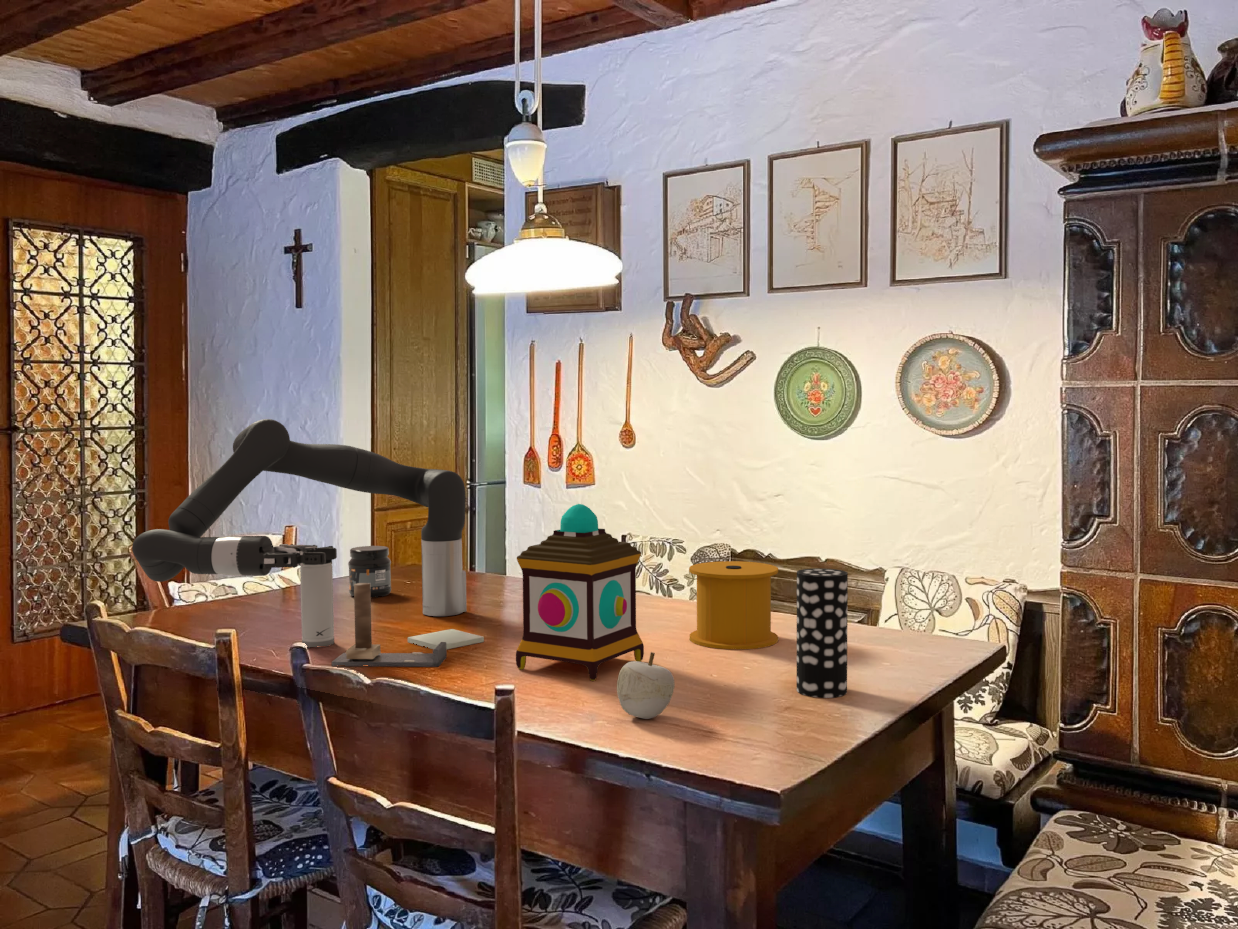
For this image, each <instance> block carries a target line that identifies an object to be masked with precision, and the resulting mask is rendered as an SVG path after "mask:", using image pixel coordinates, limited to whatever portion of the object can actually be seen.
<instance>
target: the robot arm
mask: <svg viewBox="0 0 1238 929" xmlns="http://www.w3.org/2000/svg"><path fill="white" fill-rule="evenodd" d="M290 438H291V437H290V433H289V431H288V430H287V428H286V426H285V425H283V424H282V423H281V422H280V421H278V420H275V419H271V418H265V419H263V418H262V419H260V420H256V421H255V422H253V423H250V424H249V425H248V426H247V427H246V428H244V429H243V430H242V431H241V432H239V433H238V434H237V436H236V437H235V438H234V440H233V443H232V451H233V453H232V455H231V456H230V457H229V458H228V459H227V460H226V461H225V462H224V463H223V464H222V465H221V466H220V467H219V468H218V469H217V470H216V471H215V472H214V473H213V474H211V475H210V476H209V477H208V478H207V479H206V480H204V481H203V482H202V483H201V484H199V485H198V487H196V488H195V489H194V490H193V491H192V492H191V493H190V494H189V495H188V496H187V497H186V498H185V499H184V500H183V502H182V503H180V505H179V506H178V507H177V508H176V509H175V510H173V512H172V513H171V514H170V515H169V518H168V520H167V522H168V529H163V528H159V529H158V528H156V529H155V528H154V529H151V530H147V531H145V532H142V533H140V534H139V535H138V536H137V537H136V538H134V540H133V542H132V545H131V546H132V547H131V550H132V553H133V556H134V558H135V560H136V561H137V563H138V564H139V565H140V567H141V569H142V570H143V572H144V573H145V575H146V577H147V578H149V579H150V580H151V581H154V582H156V583H157V582H158V583H159V582H160V583H161V582H166V581H169V580H171V579H174V578H175V577H176V576H177V575H179V573H181V572H182V570H183V569H184V568H185V569H186V570H187V571H188V572H190V573H192V574H195V575H196V574H197V575H222V576H230V577H233V576H234V577H239V576H240V577H241V576H242V577H246V576H247V577H249V576H251V577H253V576H254V577H255V576H256V577H265V576H267V575H268V574H269V573H270V572H271V571H272V568H276V569H277V568H278V569H281V568H297V567H301V566H303V565H323V564H325V563H326V560H332V561H333V560H336V559H337V557H338V553H337V548H336V547H333V548H320V547H318V545H316V544H293V543H291V544H288V543H284V544H282V543H281V544H279V545H275V546H274V545H273V542H272V539H271V538H270V537H269V536H267V535H229V536H228V535H227V536H221V537H220V536H218V537H217V536H203V535H204V534H205V533H206V532H208V530H209V529H210V528H211V527H212V526H213V525H214V523H215V522H216V521H218V519H219V518H220V517H221V515H222V514H224V512H225V511H226V510H227V509H228V508H229V506H231V504H232V503H233V502H234V500H235V499H236V498H237V497H238V496H239V495H240V494H241V493H242V492H243V491H244V490H245V488H247V486H248V485H249V484H250V483H251V482H252V481H253V480H254V479H255V478H256V477H257V476H259V475H260V474H261V473H262V472H263V471H264V472H270V473H271V472H272V473H276V474H277V473H279V474H287V475H292V476H296V477H301V478H305V479H308V480H313V481H315V482H320V483H325V484H328V485H332V486H336V487H339V488H344V489H348V490H350V491H351V490H352V491H354V492H355V491H356V492H360V493H361V492H362V493H368V494H373V495H374V494H375V495H376V494H377V495H390V496H394V497H399V498H401V499H404V500H407V501H410V502H414V503H416V504H418V505H421V506H423V507H426V508H427V509H428V512H427V522H426V523H425V525H423V527H422V528H421V533H420V534H421V535H420V536H421V538H420V539H421V583H422V584H421V585H422V587H421V589H422V593H421V594H422V597H421V598H422V614H423V615H425V616H429V617H430V616H433V617H448V616H455V615H460V614H463V612H467V572H466V570H465V569H464V570H463V545H462V544H463V542H462V541H463V540H462V539H463V537H462V536H463V530H464V527H465V523H466V487H465V483H464V480H463V479H462V477H461V476H460V475H459V474H458V473H456V472H455V471H453V470H446V469H437V468H436V469H435V468H422V467H417V466H409V465H404V464H400V463H398V462H396V461H394V460H392V459H390V458H388V457H385V456H383V455H381V454H379V453H376V452H373V451H371V450H366V449H363V448H359V447H355V446H351V445H344V444H337V443H336V444H335V443H334V444H333V443H331V444H330V443H303V442H298V441H293V440H291V439H290ZM307 550H311V552H307Z"/></svg>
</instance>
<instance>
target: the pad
mask: <svg viewBox="0 0 1238 929" xmlns="http://www.w3.org/2000/svg"><path fill="white" fill-rule="evenodd" d="M441 642H446V649H447V650H450V649H456V648H460V647H465V646H469V645H470V646H471V645H475V644H478V643H479V644H481V643H484V642H485V636H482V635H479V634H474V633H469V632H466V631H462V630H458V629H454V628H450V629H444V630H439V631H435V632H429V633H424V634H423V633H422V634H418V635H413V636H408V637H407V643H410V644H413V643H414V644H413V645H416V644H417V645H416V646H420V647H423V646H425V647H424V648H427V647H428V649H431V650H434V649H435V648H436V647H437V646H438V645H439V644H440V643H441Z"/></svg>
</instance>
